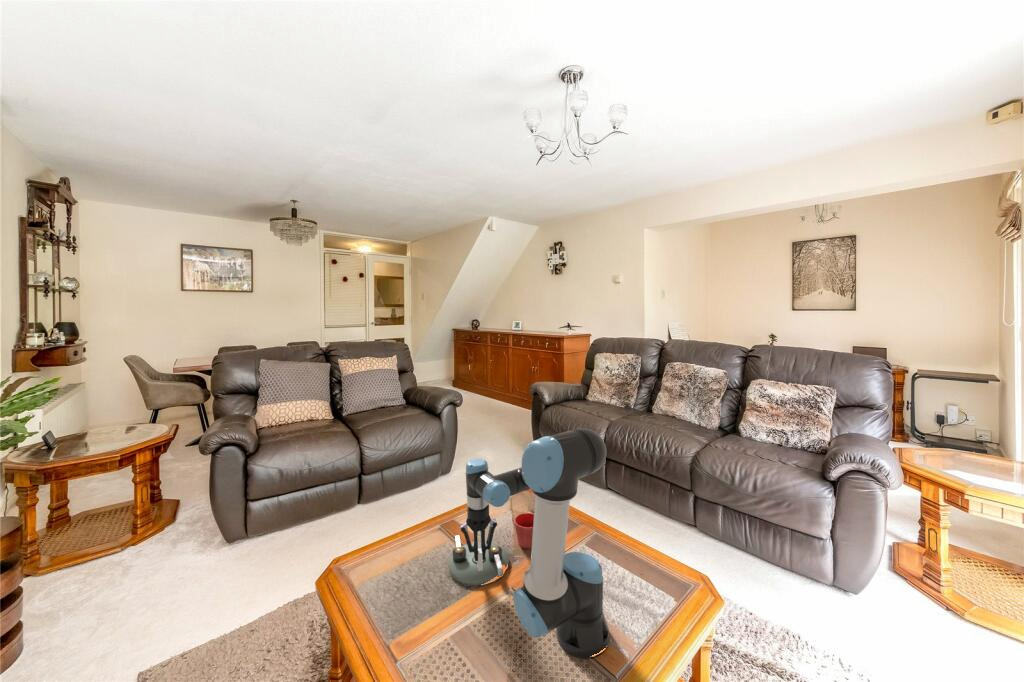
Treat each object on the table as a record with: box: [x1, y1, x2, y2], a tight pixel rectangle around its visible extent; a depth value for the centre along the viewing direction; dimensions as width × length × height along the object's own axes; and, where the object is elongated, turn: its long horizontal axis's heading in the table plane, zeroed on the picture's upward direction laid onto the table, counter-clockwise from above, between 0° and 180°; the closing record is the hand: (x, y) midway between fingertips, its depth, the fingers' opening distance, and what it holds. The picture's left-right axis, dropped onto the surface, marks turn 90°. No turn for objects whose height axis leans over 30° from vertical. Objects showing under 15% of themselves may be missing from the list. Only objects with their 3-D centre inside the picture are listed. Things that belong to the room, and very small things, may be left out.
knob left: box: [452, 534, 466, 563], centre depth 148 cm, size 12×5×4 cm, turn 13°
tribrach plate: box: [448, 540, 510, 587], centre depth 144 cm, size 22×22×2 cm
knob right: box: [488, 546, 504, 577], centre depth 140 cm, size 12×5×4 cm, turn 13°
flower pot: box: [513, 512, 534, 549], centre depth 156 cm, size 11×11×10 cm
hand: (480, 568), depth 136 cm, fingers closed
